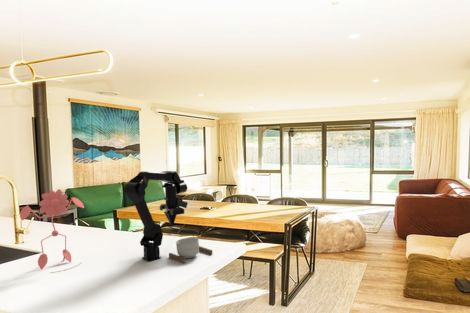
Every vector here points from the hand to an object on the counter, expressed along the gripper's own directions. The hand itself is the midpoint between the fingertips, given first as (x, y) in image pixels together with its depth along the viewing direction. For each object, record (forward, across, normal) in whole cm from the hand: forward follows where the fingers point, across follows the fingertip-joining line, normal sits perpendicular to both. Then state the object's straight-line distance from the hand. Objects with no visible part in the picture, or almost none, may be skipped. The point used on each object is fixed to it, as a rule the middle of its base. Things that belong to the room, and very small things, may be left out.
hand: (172, 225), depth 177 cm
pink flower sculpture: (+12, +8, +52) cm, 54 cm away
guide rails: (+12, -16, -3) cm, 20 cm away
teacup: (+12, -15, -3) cm, 19 cm away
